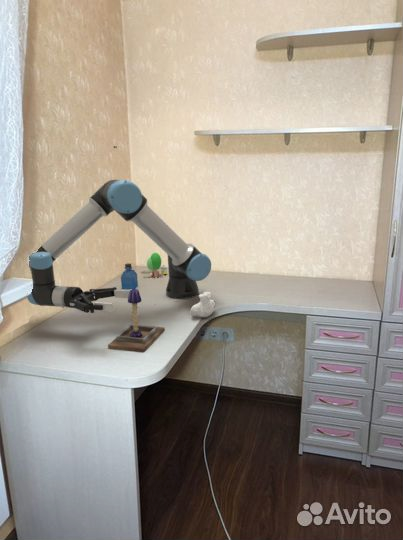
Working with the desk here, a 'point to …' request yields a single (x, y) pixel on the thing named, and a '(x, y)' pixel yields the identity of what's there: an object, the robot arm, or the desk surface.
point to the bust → (203, 306)
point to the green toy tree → (156, 265)
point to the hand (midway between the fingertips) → (122, 300)
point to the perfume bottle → (129, 278)
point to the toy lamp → (135, 311)
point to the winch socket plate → (133, 343)
